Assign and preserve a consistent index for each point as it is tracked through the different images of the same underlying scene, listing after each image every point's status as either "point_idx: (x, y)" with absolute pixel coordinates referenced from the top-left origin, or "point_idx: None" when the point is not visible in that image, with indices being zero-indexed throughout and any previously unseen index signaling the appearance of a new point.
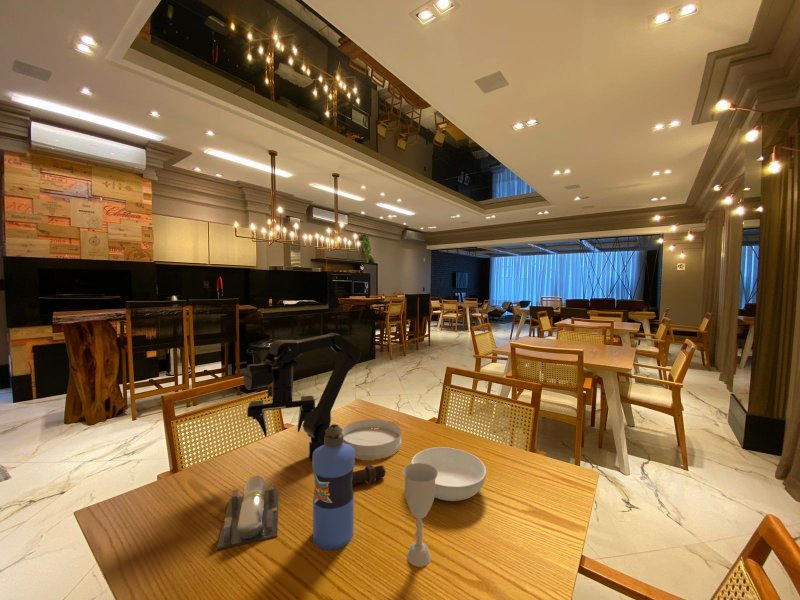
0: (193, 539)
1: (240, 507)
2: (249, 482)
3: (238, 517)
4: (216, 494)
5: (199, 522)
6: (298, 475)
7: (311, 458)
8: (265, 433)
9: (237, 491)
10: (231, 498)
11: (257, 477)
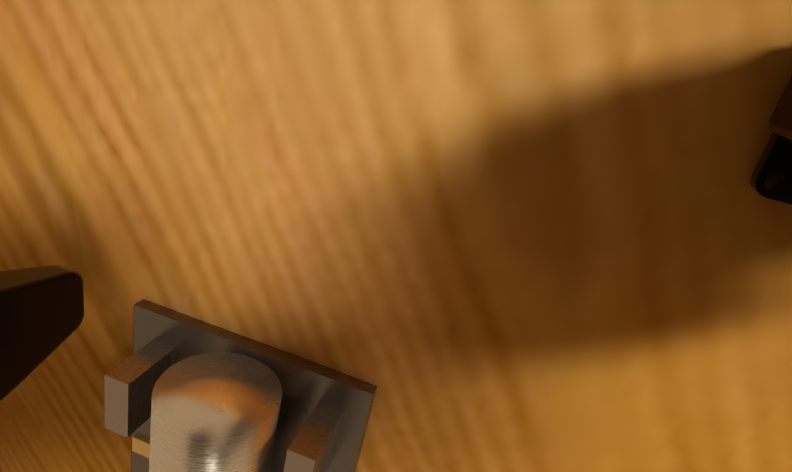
0: (59, 440)
1: None
2: (154, 449)
3: None
4: (76, 195)
5: (55, 365)
6: (548, 301)
7: (780, 140)
8: (13, 373)
9: (126, 401)
10: (142, 308)
11: (192, 450)
